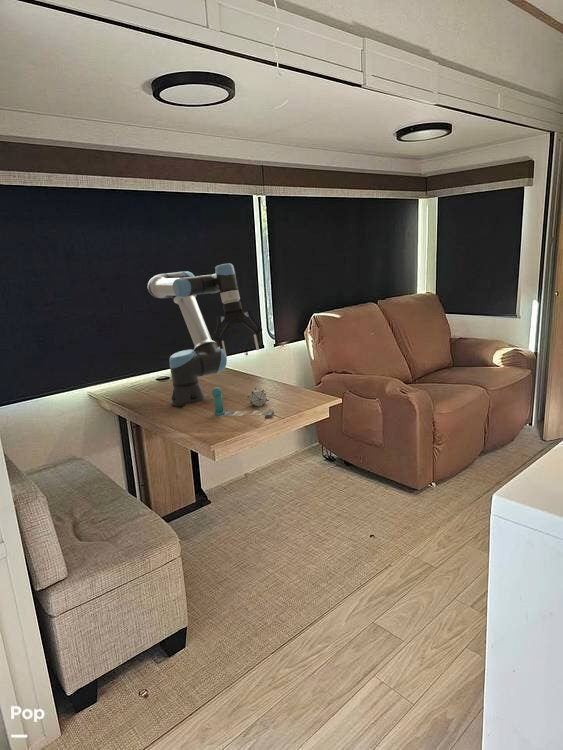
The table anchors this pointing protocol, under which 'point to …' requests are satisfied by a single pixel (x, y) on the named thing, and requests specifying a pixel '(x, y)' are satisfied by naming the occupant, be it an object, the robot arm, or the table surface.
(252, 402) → the game die
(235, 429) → the table surface
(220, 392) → the pawn
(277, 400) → the table surface
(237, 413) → the board
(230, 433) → the table surface
